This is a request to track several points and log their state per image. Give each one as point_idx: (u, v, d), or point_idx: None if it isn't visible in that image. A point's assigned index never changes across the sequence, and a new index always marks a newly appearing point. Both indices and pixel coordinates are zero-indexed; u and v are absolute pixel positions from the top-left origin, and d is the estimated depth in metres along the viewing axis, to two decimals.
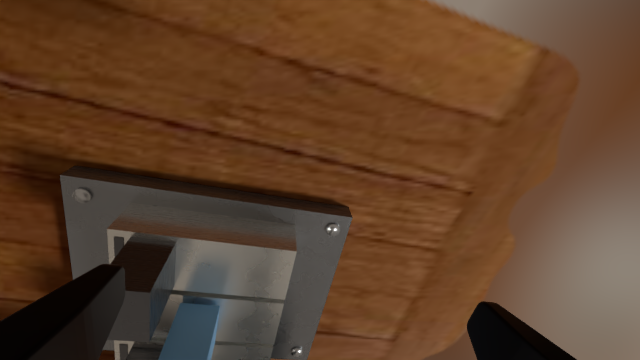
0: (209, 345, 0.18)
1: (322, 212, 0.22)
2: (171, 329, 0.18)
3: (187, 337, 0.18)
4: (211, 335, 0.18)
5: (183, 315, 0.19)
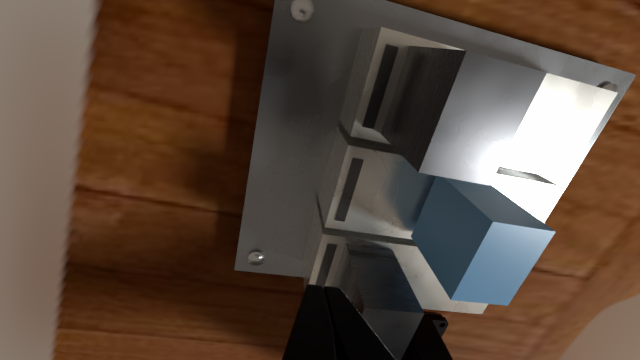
0: (529, 214, 0.11)
1: (599, 64, 0.16)
2: (463, 193, 0.12)
3: (493, 203, 0.12)
4: (518, 205, 0.12)
5: (458, 183, 0.13)
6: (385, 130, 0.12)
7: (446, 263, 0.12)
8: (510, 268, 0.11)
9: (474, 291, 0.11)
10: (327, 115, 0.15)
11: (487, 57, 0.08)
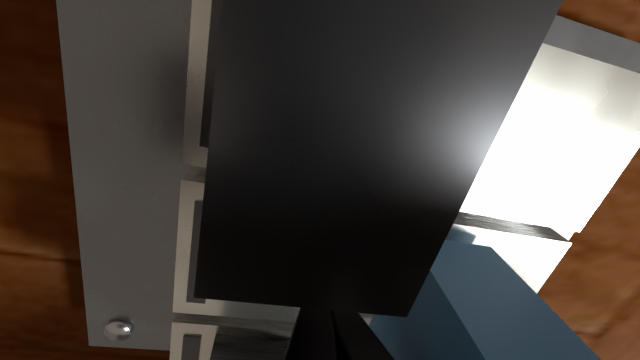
0: (578, 342, 0.06)
1: (635, 43, 0.10)
2: (448, 293, 0.06)
3: (507, 318, 0.06)
4: (553, 313, 0.06)
5: (441, 260, 0.07)
6: None
7: None
8: None
9: None
10: None
11: None
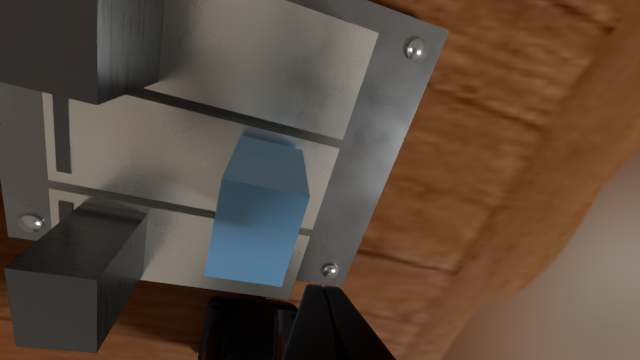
0: (305, 181, 0.10)
1: (404, 15, 0.14)
2: (235, 153, 0.10)
3: (265, 166, 0.10)
4: (303, 171, 0.10)
5: (250, 145, 0.11)
6: None
7: None
8: (268, 240, 0.09)
9: (232, 267, 0.10)
10: None
11: None
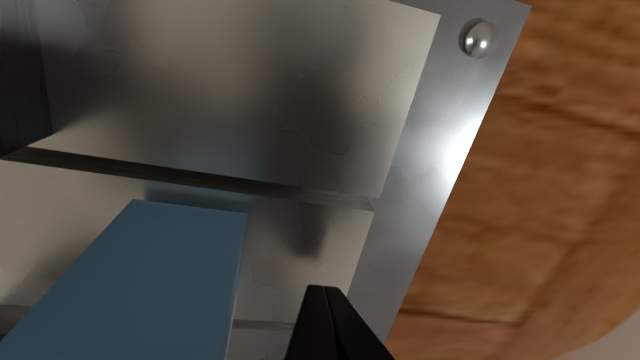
0: (223, 314, 0.05)
1: None
2: (82, 259, 0.05)
3: (138, 286, 0.05)
4: (229, 282, 0.05)
5: (137, 225, 0.06)
6: None
7: None
8: None
9: None
10: None
11: None
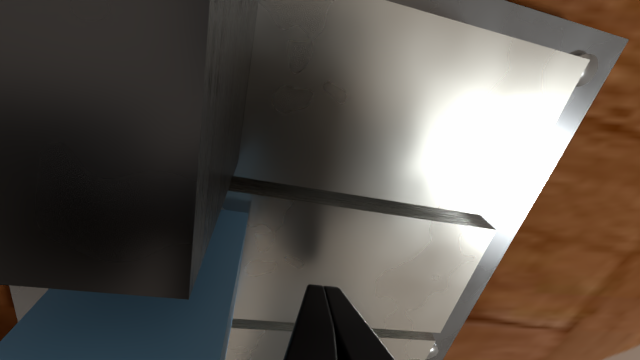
0: (225, 313, 0.05)
1: (566, 21, 0.09)
2: None
3: None
4: (230, 281, 0.05)
5: None
6: None
7: None
8: None
9: None
10: None
11: None
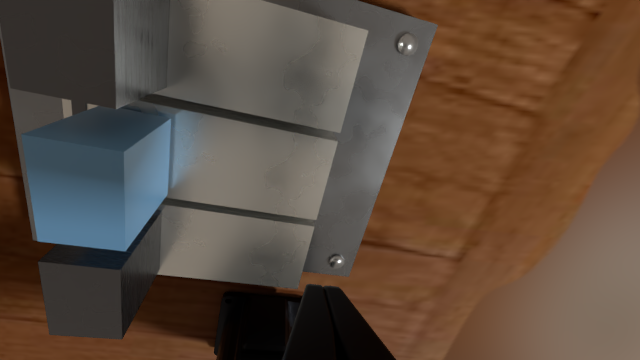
0: (139, 140, 0.10)
1: (394, 12, 0.15)
2: (71, 117, 0.10)
3: (98, 127, 0.10)
4: (146, 133, 0.10)
5: (102, 112, 0.11)
6: None
7: None
8: (94, 201, 0.09)
9: (64, 231, 0.09)
10: None
11: None
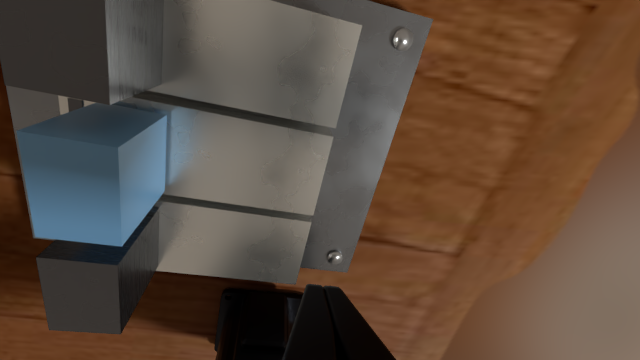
0: (133, 136, 0.10)
1: (389, 7, 0.15)
2: (67, 114, 0.10)
3: (93, 124, 0.10)
4: (141, 129, 0.10)
5: (98, 109, 0.11)
6: None
7: None
8: (89, 196, 0.09)
9: (61, 227, 0.10)
10: None
11: None
